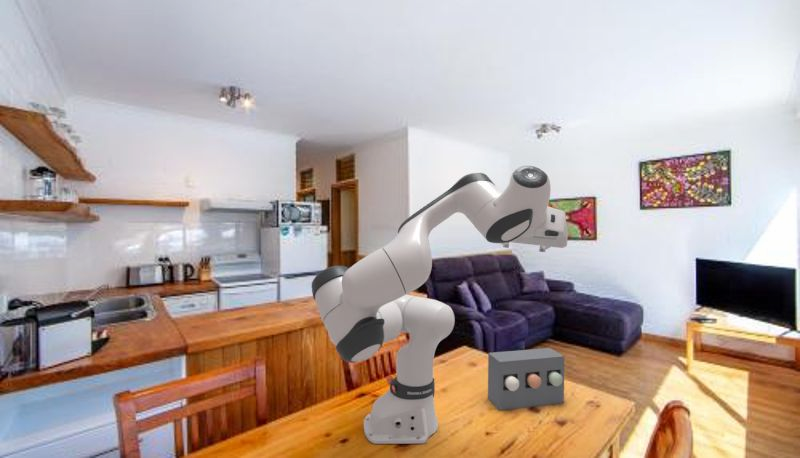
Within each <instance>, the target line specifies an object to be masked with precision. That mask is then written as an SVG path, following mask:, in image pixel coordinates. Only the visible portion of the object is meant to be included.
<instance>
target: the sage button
mask: <svg viewBox="0 0 800 458" xmlns="http://www.w3.org/2000/svg"><path fill="white" fill-rule="evenodd" d="M548 381H549V382H550V383H551V384H552V385H554V386H560V385H561V384H562V381H563V378H562V376H561V375H560V374H559V373H557V372H555V371H553V372H551V373H550V374H549V375H548Z"/></svg>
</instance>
